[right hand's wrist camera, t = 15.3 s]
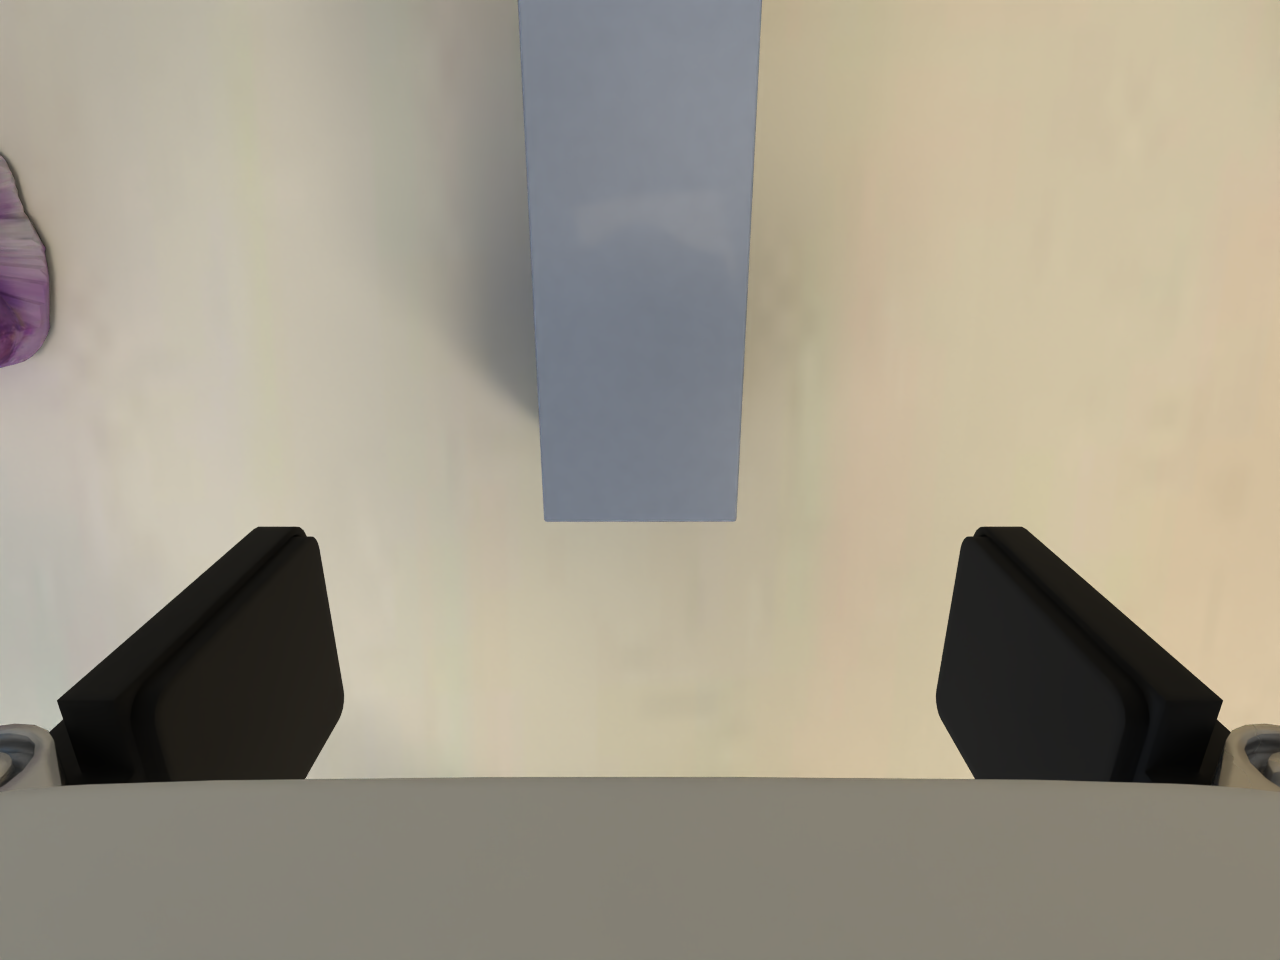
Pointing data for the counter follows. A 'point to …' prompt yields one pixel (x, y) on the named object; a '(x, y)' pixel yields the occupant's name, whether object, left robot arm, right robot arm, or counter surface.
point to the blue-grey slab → (640, 250)
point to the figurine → (20, 278)
